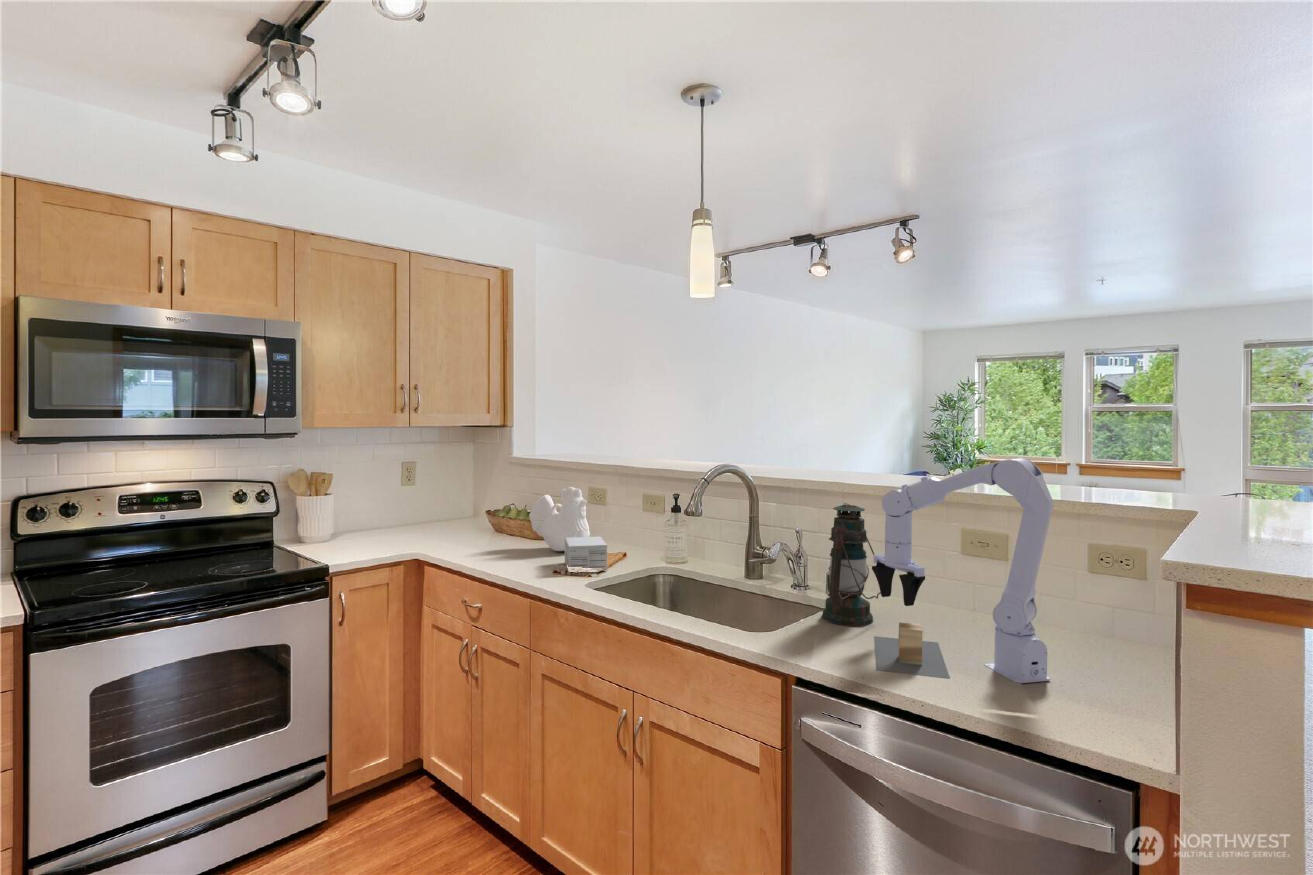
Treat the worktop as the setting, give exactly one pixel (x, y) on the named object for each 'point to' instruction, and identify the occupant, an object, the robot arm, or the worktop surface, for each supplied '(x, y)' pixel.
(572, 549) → the supplement box
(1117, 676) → the worktop surface
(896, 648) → the mat
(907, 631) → the oak block
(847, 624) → the lantern
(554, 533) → the decorative rooster
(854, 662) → the worktop surface
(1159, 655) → the worktop surface
